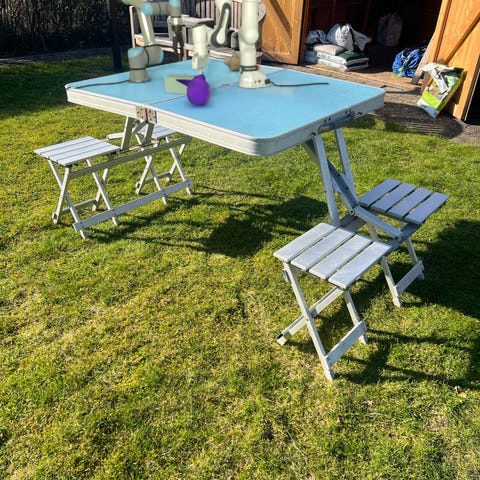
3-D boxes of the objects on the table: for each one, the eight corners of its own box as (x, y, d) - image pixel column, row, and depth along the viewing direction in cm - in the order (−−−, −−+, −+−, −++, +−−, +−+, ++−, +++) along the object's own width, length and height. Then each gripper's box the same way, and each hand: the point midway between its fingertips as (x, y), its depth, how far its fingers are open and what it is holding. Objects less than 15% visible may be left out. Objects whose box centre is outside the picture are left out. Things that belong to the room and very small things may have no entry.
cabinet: (199, 90, 306) (198, 75, 301) (192, 94, 297) (191, 78, 292) (173, 89, 312) (172, 73, 307) (165, 92, 303) (164, 77, 298)
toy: (199, 96, 289) (211, 111, 269) (173, 92, 282) (183, 107, 261) (204, 71, 281) (217, 85, 261) (177, 66, 274) (188, 79, 253)
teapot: (227, 73, 361) (227, 53, 353) (221, 70, 369) (220, 51, 362) (250, 70, 370) (250, 50, 362) (243, 68, 378) (242, 49, 371)
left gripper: (176, 26, 290) (179, 61, 301) (187, 23, 311) (189, 55, 322) (165, 26, 291) (168, 61, 302) (176, 23, 312) (179, 55, 323)
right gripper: (197, 54, 278) (199, 77, 285) (211, 49, 294) (212, 72, 301) (188, 54, 280) (190, 77, 287) (202, 49, 296) (203, 71, 303)
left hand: (179, 58), depth 312 cm, fingers open, 13 cm apart
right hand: (201, 74), depth 294 cm, fingers closed
